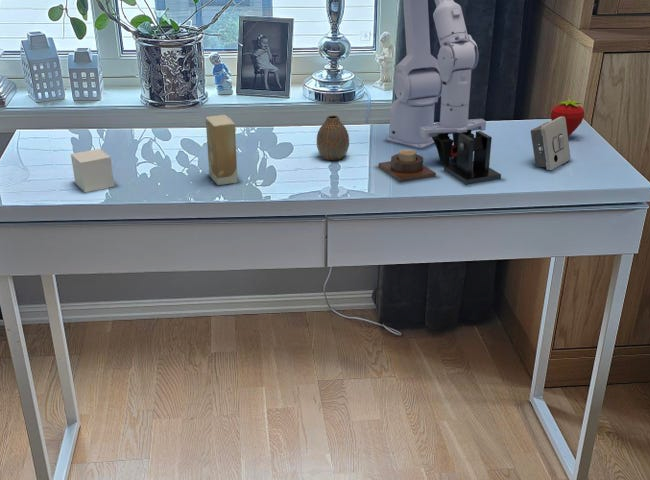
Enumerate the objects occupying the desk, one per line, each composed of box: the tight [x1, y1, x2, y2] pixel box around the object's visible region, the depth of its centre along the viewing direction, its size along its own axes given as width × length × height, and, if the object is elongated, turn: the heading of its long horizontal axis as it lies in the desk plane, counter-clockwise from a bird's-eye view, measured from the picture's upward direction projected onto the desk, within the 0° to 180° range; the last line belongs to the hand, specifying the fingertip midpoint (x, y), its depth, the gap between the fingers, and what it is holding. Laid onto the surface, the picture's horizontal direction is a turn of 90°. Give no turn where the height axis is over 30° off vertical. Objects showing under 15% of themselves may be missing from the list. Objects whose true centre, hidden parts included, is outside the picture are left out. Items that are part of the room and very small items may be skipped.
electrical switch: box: [530, 117, 571, 171], centre depth 187 cm, size 9×5×9 cm, turn 141°
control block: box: [378, 153, 437, 183], centre depth 184 cm, size 10×8×3 cm
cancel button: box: [397, 148, 417, 162], centre depth 183 cm, size 4×4×2 cm
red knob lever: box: [450, 136, 484, 159], centre depth 184 cm, size 12×3×3 cm, turn 24°
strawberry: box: [549, 92, 585, 138], centre depth 201 cm, size 6×8×10 cm
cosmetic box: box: [205, 114, 239, 186], centre depth 178 cm, size 6×4×12 cm
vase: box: [316, 114, 350, 161], centre depth 190 cm, size 7×7×9 cm
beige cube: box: [70, 148, 115, 193], centre depth 177 cm, size 6×6×6 cm
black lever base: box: [443, 130, 502, 186], centre depth 181 cm, size 9×8×8 cm
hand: (450, 167), depth 190 cm, fingers closed
